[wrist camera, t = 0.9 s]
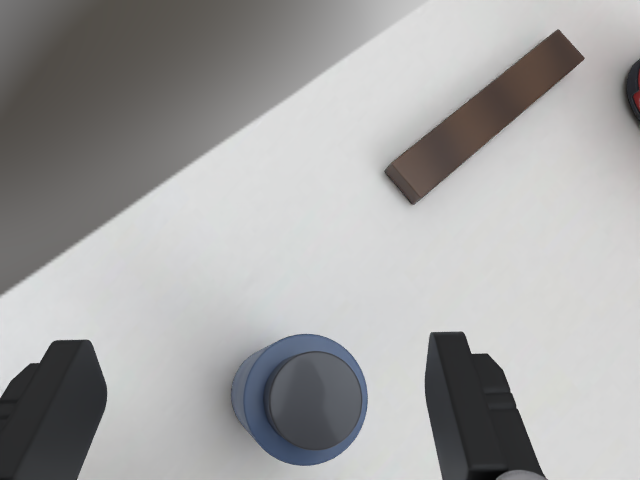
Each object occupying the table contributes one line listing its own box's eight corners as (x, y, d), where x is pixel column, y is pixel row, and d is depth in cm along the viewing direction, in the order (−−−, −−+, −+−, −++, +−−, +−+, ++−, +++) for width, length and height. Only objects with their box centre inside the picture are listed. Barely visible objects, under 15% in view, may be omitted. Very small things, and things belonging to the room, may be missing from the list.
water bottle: (238, 448, 31) (259, 489, 19) (224, 355, 32) (237, 342, 20) (327, 429, 32) (395, 456, 21) (311, 339, 33) (368, 319, 22)
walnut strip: (412, 205, 37) (421, 198, 35) (383, 171, 37) (391, 163, 35) (572, 69, 42) (585, 58, 41) (546, 40, 42) (558, 28, 41)
